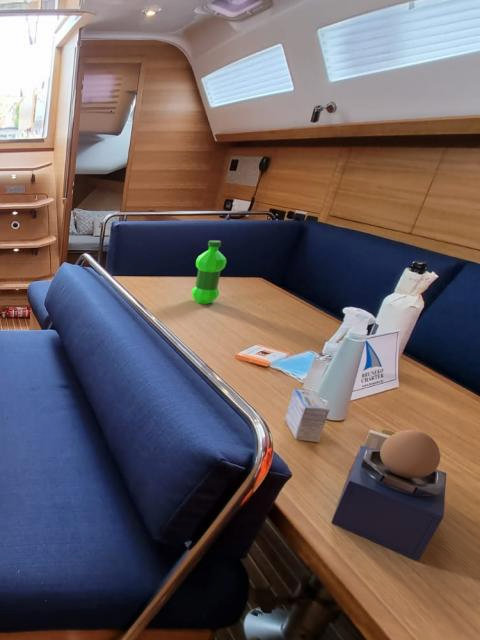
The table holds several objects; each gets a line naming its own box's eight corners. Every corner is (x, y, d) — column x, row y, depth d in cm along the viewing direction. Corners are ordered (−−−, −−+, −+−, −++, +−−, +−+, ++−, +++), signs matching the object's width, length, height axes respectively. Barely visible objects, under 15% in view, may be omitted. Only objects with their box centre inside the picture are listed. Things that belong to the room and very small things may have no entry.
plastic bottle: (211, 297, 176) (223, 238, 166) (221, 306, 167) (234, 244, 156) (186, 297, 178) (196, 239, 168) (194, 306, 168) (205, 244, 158)
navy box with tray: (344, 484, 79) (361, 444, 75) (423, 515, 72) (446, 472, 68) (331, 523, 72) (349, 480, 68) (417, 561, 65) (443, 516, 61)
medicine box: (318, 443, 90) (331, 410, 87) (294, 439, 92) (305, 407, 88) (306, 422, 97) (317, 391, 93) (283, 419, 98) (293, 388, 95)
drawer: (361, 447, 87) (374, 416, 84) (425, 468, 81) (442, 436, 78) (346, 491, 77) (361, 458, 73) (419, 520, 70) (438, 485, 67)
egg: (364, 458, 71) (381, 419, 68) (408, 462, 70) (428, 422, 67) (390, 485, 66) (410, 444, 62) (439, 490, 64) (463, 447, 61)
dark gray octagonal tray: (364, 450, 74) (369, 441, 73) (439, 476, 68) (445, 466, 67) (356, 477, 68) (360, 467, 67) (437, 507, 62) (443, 497, 61)
